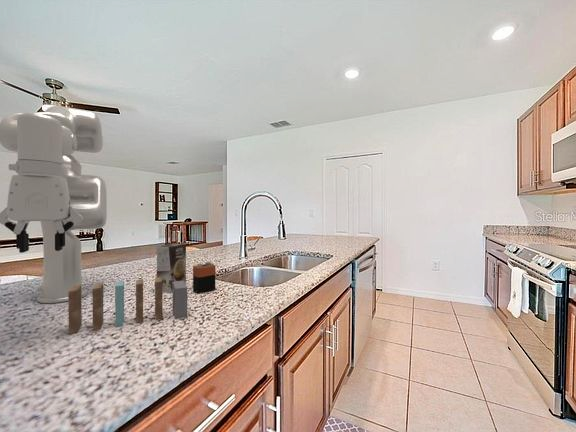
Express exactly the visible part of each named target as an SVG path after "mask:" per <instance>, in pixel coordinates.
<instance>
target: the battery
mask: <svg viewBox="0 0 576 432" xmlns="http://www.w3.org/2000/svg"><path fill="white" fill-rule="evenodd" d="M215 290H216V265H215V264H212V261H206V262H204V264H202V263H197V265H193V266H192V291H193V292H194V293H197V294H204V293H208V292H212V291H215Z"/></svg>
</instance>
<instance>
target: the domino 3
mask: <svg viewBox="0 0 576 432" xmlns="http://www.w3.org/2000/svg"><path fill="white" fill-rule="evenodd" d="M114 287H115V288H114V299H115V300H114V307H115V309H114V310H115V311H114V316H115V318H114V321H115V324H114V326H115V328H117V327H118V328H119V327H122V326H124V321H125V280H121V281H120V280H119V281H116V283H115V286H114Z"/></svg>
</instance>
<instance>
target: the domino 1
mask: <svg viewBox="0 0 576 432" xmlns="http://www.w3.org/2000/svg"><path fill="white" fill-rule="evenodd" d="M82 298H83V297H81V285H79V286H73V287H72V288H71V289H70V290H69V291H68V301H67V302H68V335H76V334H78V333H79V331H80V329H81V327H82V323H83V322H82V321H83V320H82V319H83V318H82V317H83V316H82V314H83V313H82V310H83V309H82V306H83V305H82V301H83V300H82Z"/></svg>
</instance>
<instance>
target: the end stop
mask: <svg viewBox="0 0 576 432" xmlns="http://www.w3.org/2000/svg"><path fill="white" fill-rule="evenodd" d="M171 293H172V295H171V297H172V299H171V301H172V305H171V306H172V312H173V315H174V319H175V320H177V319H182V318H187V317H188V286H187V283H186V284H185V282H184V281H175V282H172V292H171Z"/></svg>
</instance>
